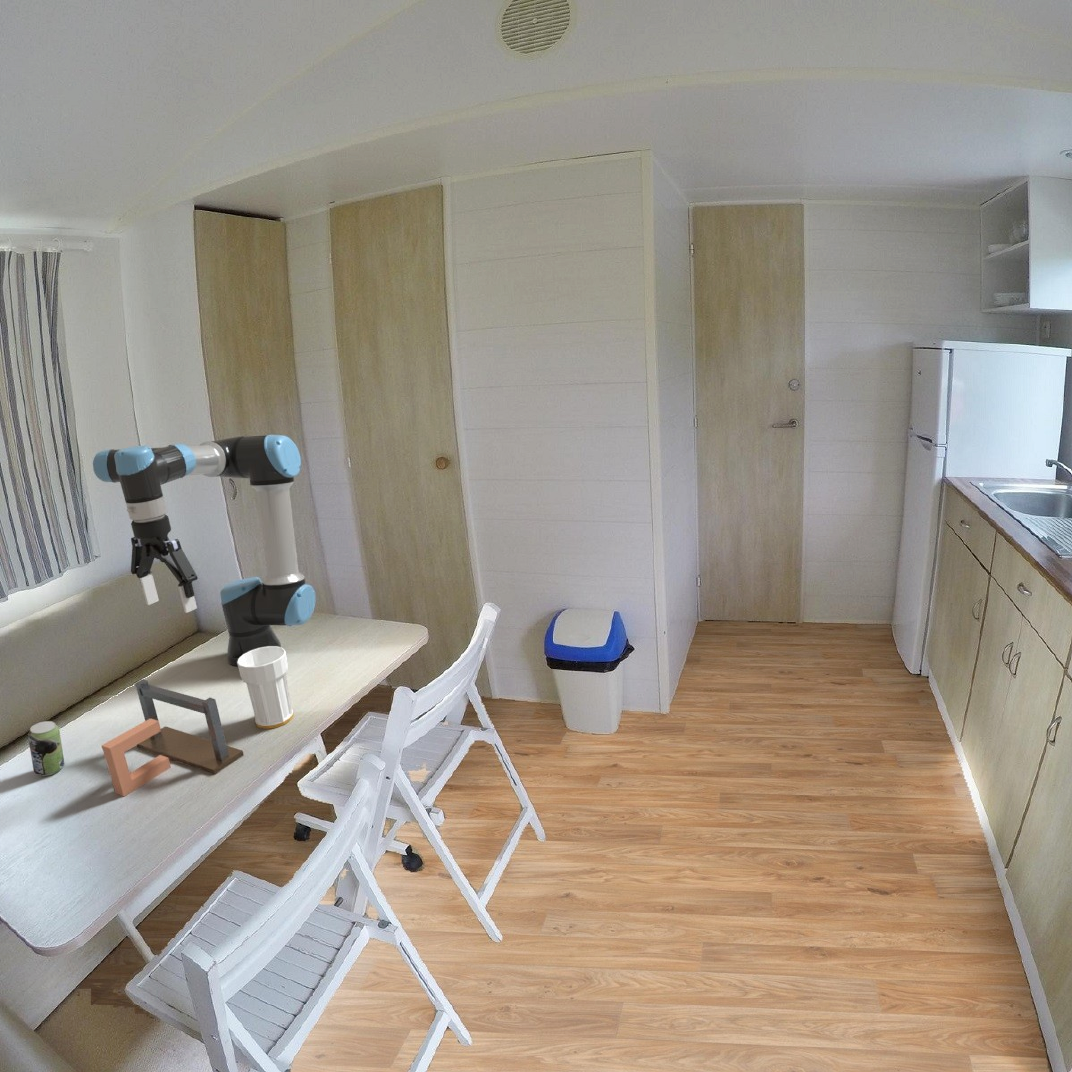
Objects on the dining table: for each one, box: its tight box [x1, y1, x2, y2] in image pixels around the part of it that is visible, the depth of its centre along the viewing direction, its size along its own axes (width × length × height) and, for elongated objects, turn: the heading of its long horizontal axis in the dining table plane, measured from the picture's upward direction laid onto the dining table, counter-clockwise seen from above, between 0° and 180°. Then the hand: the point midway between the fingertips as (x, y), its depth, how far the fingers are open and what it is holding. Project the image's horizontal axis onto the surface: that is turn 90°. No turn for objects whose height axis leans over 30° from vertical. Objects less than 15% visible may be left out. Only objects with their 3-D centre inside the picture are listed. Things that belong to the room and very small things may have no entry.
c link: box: [101, 719, 172, 797], centre depth 169 cm, size 3×12×12 cm, turn 150°
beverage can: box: [27, 720, 65, 777], centre depth 176 cm, size 6×7×12 cm
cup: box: [237, 646, 294, 730], centre depth 189 cm, size 11×11×17 cm
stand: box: [134, 678, 244, 775], centre depth 178 cm, size 28×8×16 cm, turn 61°
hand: (171, 606), depth 175 cm, fingers open, 13 cm apart
